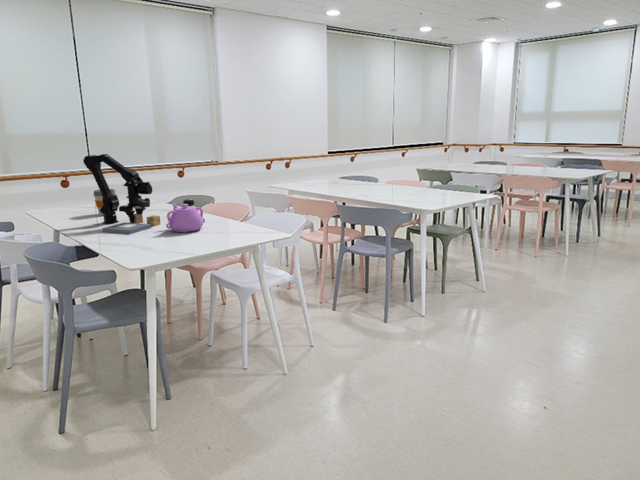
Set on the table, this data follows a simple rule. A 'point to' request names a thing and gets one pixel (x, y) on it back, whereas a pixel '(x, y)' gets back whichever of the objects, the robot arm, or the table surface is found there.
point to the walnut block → (137, 218)
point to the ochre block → (153, 220)
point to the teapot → (185, 218)
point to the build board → (126, 228)
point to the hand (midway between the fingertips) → (136, 221)
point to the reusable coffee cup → (100, 199)
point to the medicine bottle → (189, 203)
